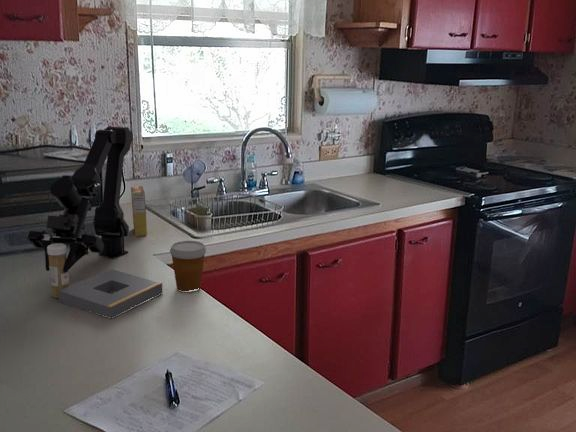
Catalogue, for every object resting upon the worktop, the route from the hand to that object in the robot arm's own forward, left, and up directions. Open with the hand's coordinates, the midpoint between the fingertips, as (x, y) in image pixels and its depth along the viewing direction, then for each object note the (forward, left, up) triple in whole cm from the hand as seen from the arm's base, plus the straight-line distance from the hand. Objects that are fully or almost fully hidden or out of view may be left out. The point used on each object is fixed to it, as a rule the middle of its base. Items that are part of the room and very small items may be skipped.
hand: (55, 271), depth 153 cm
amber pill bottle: (-1, -1, -7) cm, 7 cm away
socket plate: (-7, +11, -7) cm, 15 cm away
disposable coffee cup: (-23, +23, -7) cm, 34 cm away
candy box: (-52, -22, -7) cm, 57 cm away
